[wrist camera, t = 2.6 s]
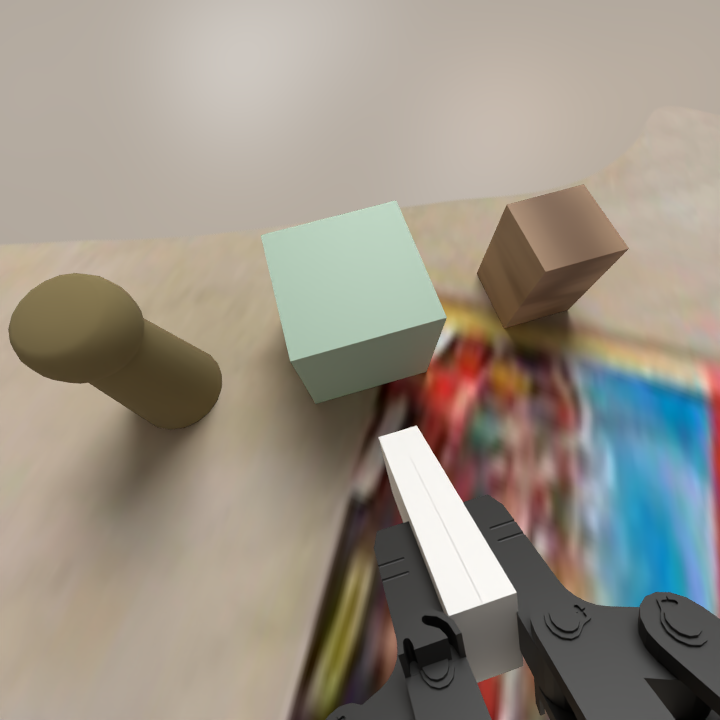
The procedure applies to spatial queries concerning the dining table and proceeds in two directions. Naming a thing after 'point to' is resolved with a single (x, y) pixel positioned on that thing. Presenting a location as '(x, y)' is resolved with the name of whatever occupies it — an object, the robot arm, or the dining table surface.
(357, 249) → the sage-green block
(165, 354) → the olive game pawn
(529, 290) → the walnut block
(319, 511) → the dining table surface
